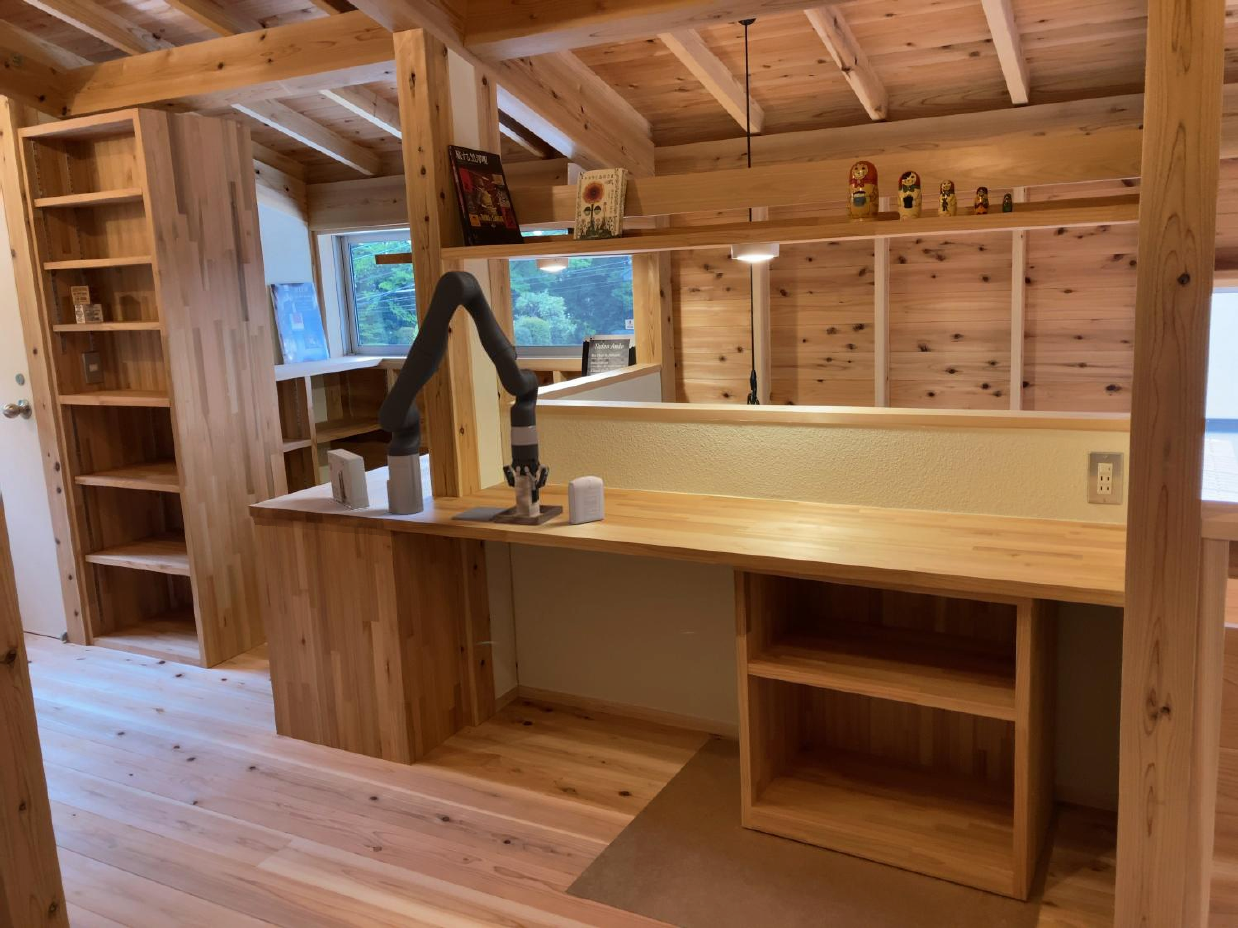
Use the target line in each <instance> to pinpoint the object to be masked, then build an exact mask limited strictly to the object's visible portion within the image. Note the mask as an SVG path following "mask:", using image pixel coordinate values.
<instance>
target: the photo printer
mask: <svg viewBox="0 0 1238 928" xmlns="http://www.w3.org/2000/svg"><path fill="white" fill-rule="evenodd" d="M604 495H605V494H604V482H603V479H602V478H601V477H598V476H593V475H592V476H591V475H589V476H588V475H587V476H582V477H581V476H580V477H578V478H574V479H573V480H571V481H570V482H568V484H567V497H568V499H567V501H568V518H569V523H570V524H572V525H577V524H583V523H588V522H589V523H590V522H594V521H601V520H604V519H605V497H604Z"/></svg>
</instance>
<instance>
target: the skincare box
mask: <svg viewBox="0 0 1238 928" xmlns="http://www.w3.org/2000/svg"><path fill="white" fill-rule="evenodd" d="M326 454H327V461H328V469H329V476H330V484H331V492H332V499H333V498H334V499H336V500H337V501H336V500H335V501H336V502H338V501H340V502H342V503H344V504H345V505H347V506H350V507H351V508H353V509H358V510H360V509H359V508H364V509H367V508H366V507H369V508H370V501H369V493H368V485H367V479H366V471H365V470H366V469H365V461H364V457H363V456H360V455H358V454H355V453H353V452H351V451H348V450H345V449H343V448H338V449H332V450H327V451H326ZM334 499H333V500H334ZM340 502H339V503H340ZM342 503H341V504H342ZM344 504H343V505H344ZM345 505H344V506H345ZM347 506H346V507H347ZM351 508H350V509H351ZM353 509H352V510H353Z"/></svg>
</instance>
